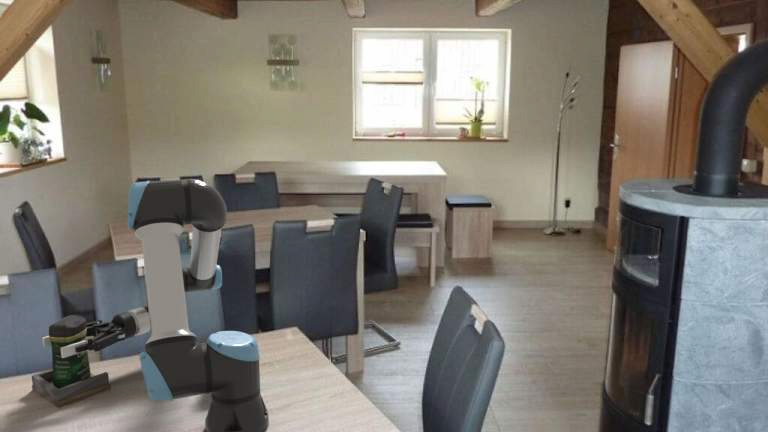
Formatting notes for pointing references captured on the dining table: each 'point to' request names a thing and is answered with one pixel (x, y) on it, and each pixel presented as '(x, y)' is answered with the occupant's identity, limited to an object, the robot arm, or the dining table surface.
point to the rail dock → (68, 388)
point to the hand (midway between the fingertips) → (52, 347)
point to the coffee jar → (71, 366)
